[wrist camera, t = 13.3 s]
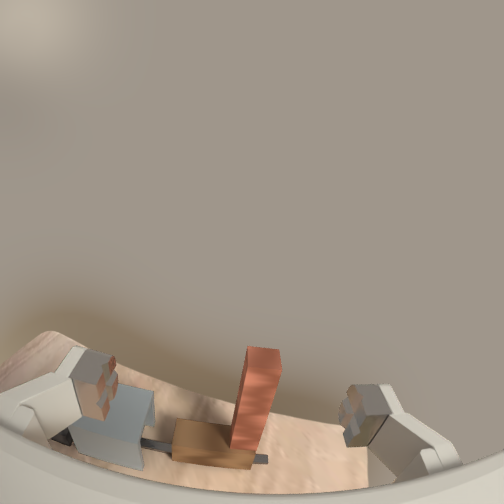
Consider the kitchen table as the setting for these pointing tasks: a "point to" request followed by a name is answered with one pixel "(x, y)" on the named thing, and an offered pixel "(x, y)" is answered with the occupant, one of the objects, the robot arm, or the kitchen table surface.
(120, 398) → the tunnel
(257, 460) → the rail
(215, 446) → the upright post on base
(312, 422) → the kitchen table surface
